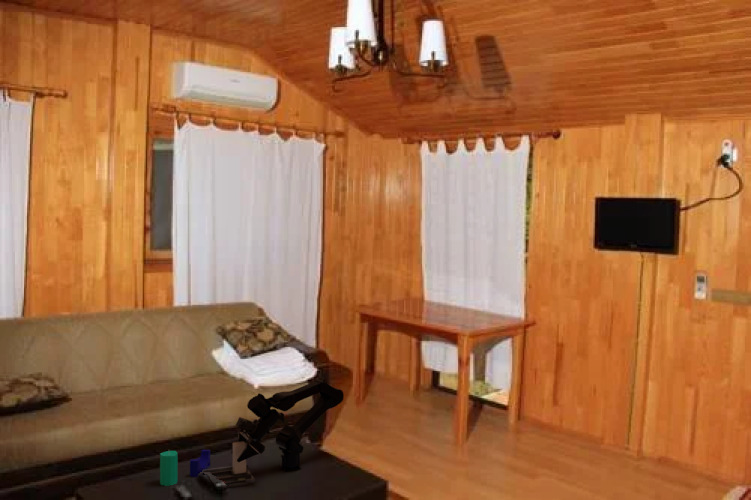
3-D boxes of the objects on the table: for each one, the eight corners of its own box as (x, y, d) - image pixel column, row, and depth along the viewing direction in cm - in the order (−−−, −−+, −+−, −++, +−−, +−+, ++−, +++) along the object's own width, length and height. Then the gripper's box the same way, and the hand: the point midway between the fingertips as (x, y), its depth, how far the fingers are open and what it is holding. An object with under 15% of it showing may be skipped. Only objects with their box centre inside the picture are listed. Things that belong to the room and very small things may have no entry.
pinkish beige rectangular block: (244, 470, 246) (244, 441, 245) (247, 474, 242) (247, 444, 241) (231, 472, 244) (231, 442, 243) (233, 476, 240) (233, 446, 239)
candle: (161, 487, 233) (161, 452, 233) (158, 481, 239) (158, 447, 238) (179, 484, 236) (179, 450, 236) (175, 478, 241) (175, 445, 241)
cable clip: (198, 465, 255) (198, 449, 255) (210, 465, 255) (210, 450, 255) (186, 476, 244) (186, 460, 243) (197, 477, 243) (197, 461, 243)
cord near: (246, 484, 237) (246, 481, 237) (247, 485, 236) (247, 482, 236) (228, 487, 234) (228, 483, 234) (228, 488, 233) (228, 484, 233)
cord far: (246, 466, 254) (246, 462, 254) (248, 469, 251) (248, 465, 251) (201, 472, 247) (201, 468, 247) (203, 475, 245) (203, 471, 245)
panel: (246, 470, 250) (246, 465, 250) (254, 482, 239) (254, 476, 239) (208, 475, 244) (208, 470, 244) (214, 488, 233) (214, 482, 233)
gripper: (243, 403, 252) (213, 435, 248) (256, 416, 235) (224, 451, 231) (264, 421, 255) (235, 454, 251) (277, 436, 238) (246, 471, 234)
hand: (234, 457), depth 242 cm, fingers open, 9 cm apart
